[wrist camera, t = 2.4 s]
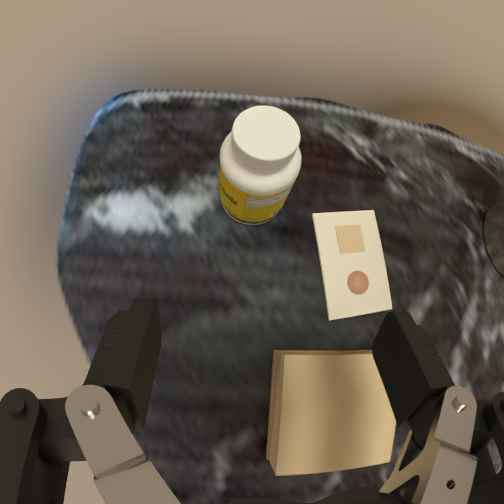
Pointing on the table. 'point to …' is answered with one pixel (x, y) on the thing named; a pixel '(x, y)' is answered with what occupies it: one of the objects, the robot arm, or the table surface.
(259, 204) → the supplement bottle
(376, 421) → the beech block
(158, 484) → the robot arm
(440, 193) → the table surface
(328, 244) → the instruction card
